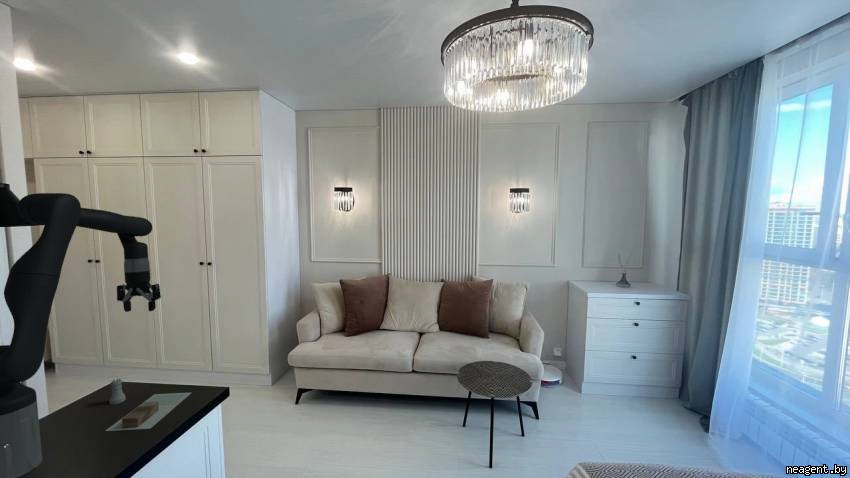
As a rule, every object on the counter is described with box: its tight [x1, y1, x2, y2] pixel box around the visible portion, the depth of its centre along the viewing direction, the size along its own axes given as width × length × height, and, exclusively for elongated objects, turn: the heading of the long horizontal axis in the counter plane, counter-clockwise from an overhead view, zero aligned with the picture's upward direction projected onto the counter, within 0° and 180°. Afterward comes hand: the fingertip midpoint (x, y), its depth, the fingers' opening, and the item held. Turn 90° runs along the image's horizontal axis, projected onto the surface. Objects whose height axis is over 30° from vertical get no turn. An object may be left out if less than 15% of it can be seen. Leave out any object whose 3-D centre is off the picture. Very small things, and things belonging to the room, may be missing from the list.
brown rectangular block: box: [121, 401, 159, 428], centre depth 108 cm, size 9×4×3 cm, turn 5°
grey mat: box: [105, 392, 192, 432], centre depth 113 cm, size 21×13×1 cm, turn 5°
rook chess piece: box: [108, 378, 127, 405], centre depth 118 cm, size 4×4×8 cm
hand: (140, 311), depth 129 cm, fingers open, 8 cm apart
